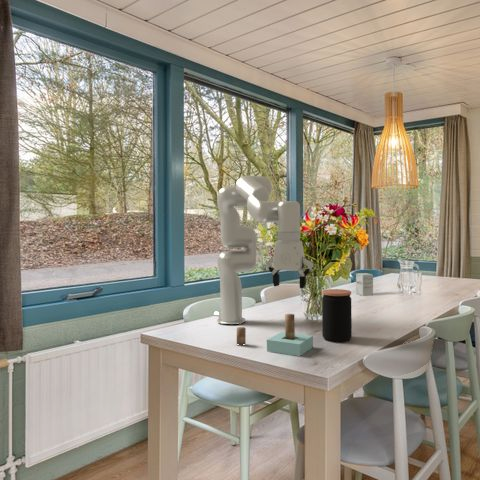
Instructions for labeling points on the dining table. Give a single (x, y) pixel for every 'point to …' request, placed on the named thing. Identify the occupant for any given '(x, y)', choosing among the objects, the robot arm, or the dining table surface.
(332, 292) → the coffee jar
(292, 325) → the long dowel
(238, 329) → the short dowel
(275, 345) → the hole block
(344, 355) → the dining table surface
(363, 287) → the supplement box
